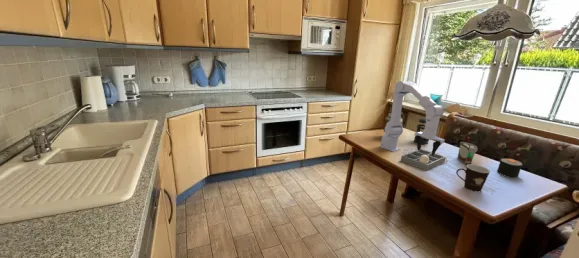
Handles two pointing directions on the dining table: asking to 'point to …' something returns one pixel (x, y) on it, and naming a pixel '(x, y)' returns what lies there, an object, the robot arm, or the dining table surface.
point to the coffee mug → (474, 177)
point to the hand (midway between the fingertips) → (425, 151)
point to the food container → (466, 152)
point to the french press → (422, 120)
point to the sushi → (509, 167)
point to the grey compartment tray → (414, 159)
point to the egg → (424, 159)
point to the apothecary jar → (390, 119)
